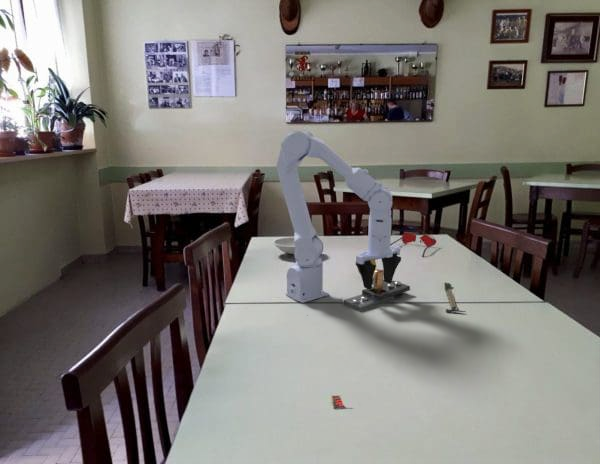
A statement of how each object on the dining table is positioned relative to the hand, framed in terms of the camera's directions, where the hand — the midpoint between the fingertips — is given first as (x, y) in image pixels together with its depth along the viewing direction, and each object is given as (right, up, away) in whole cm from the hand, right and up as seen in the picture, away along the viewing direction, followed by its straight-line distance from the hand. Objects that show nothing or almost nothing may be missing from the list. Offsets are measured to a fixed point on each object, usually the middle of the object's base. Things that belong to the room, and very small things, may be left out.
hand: (377, 285), depth 119 cm
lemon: (-1, 0, +18) cm, 18 cm away
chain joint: (0, -4, +1) cm, 4 cm away
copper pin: (0, -4, +1) cm, 4 cm away
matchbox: (-13, -15, -43) cm, 48 cm away
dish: (-22, +5, +44) cm, 49 cm away
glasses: (+21, +7, +50) cm, 54 cm away
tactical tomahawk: (+21, -4, +1) cm, 21 cm away
